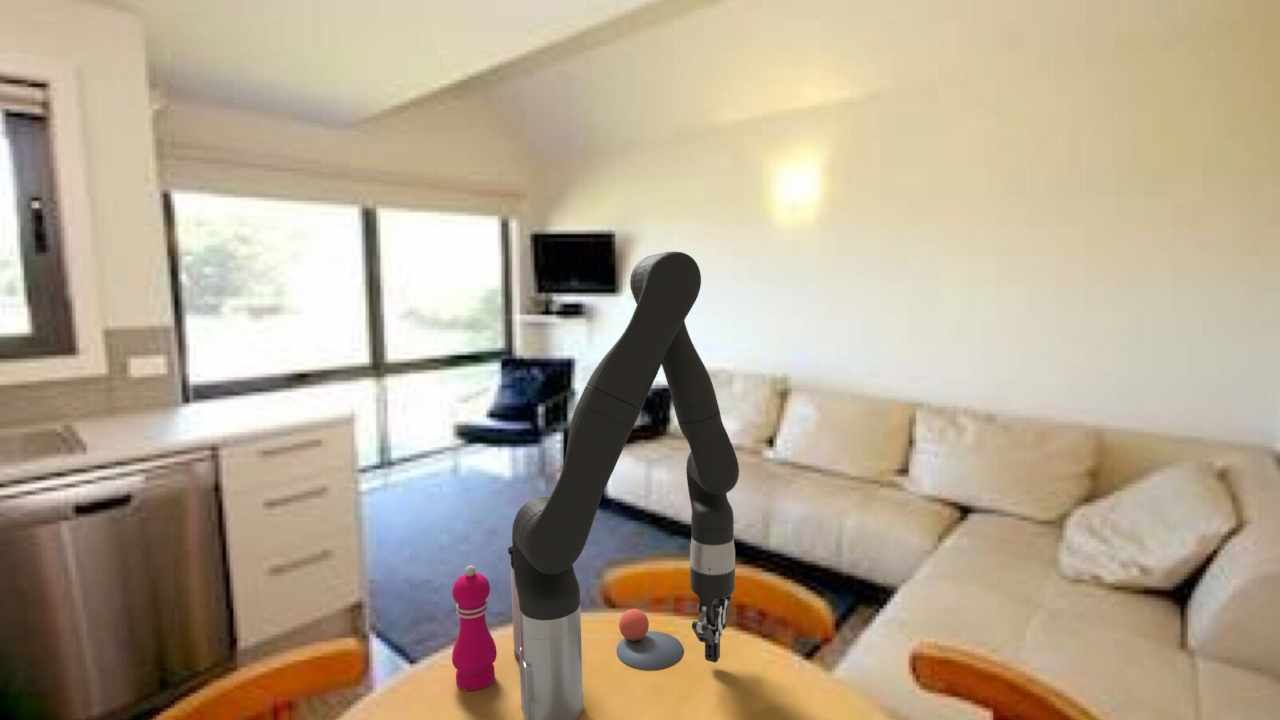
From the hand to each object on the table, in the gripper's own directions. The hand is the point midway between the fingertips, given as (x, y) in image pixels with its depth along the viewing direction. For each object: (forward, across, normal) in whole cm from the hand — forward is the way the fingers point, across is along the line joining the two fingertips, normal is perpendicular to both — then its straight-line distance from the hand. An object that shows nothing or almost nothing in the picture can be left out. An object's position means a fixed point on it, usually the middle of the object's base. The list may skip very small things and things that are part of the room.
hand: (712, 659), depth 111 cm
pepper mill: (+2, -20, +34) cm, 40 cm away
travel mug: (+2, -10, +31) cm, 33 cm away
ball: (-1, +2, +16) cm, 16 cm away
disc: (+2, 0, +12) cm, 12 cm away
